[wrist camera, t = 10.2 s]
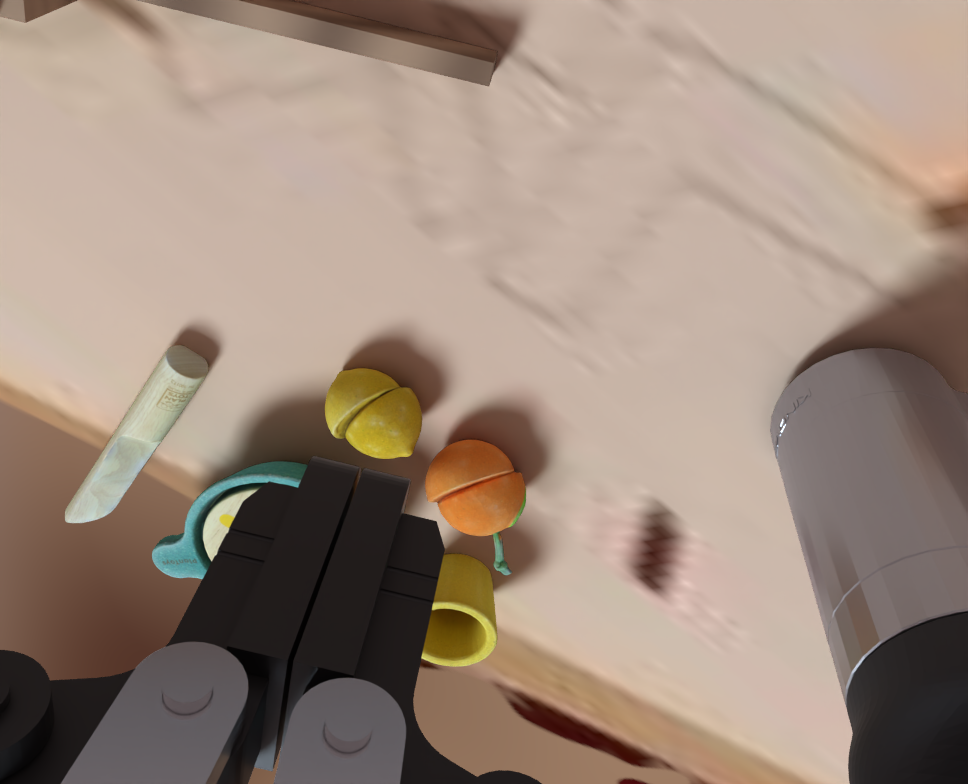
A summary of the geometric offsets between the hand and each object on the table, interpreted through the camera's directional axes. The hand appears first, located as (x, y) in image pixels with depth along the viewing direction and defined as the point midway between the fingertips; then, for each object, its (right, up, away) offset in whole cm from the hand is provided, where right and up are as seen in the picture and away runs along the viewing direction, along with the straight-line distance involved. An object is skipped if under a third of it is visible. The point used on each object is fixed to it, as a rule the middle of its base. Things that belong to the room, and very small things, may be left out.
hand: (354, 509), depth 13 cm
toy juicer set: (-9, -2, +41) cm, 42 cm away
